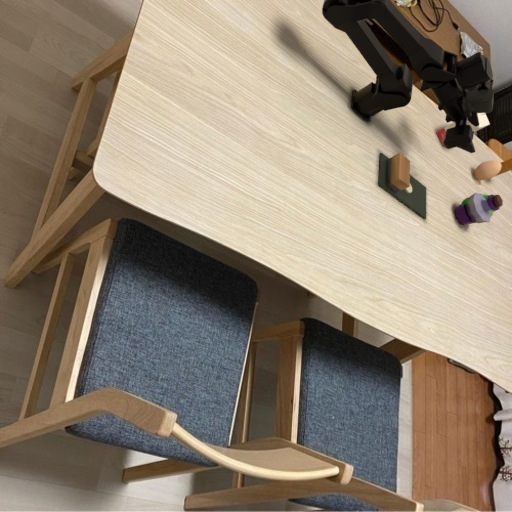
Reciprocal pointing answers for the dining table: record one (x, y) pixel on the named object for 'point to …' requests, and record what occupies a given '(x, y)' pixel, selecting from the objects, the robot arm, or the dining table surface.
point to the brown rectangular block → (398, 173)
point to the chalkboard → (411, 200)
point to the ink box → (482, 123)
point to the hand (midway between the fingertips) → (475, 138)
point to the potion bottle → (477, 208)
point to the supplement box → (505, 166)
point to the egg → (487, 170)
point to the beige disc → (408, 189)
